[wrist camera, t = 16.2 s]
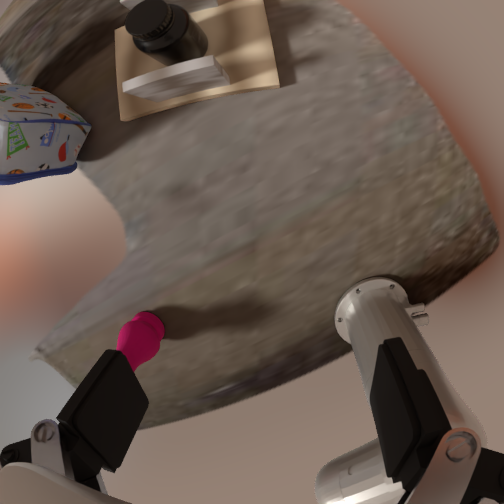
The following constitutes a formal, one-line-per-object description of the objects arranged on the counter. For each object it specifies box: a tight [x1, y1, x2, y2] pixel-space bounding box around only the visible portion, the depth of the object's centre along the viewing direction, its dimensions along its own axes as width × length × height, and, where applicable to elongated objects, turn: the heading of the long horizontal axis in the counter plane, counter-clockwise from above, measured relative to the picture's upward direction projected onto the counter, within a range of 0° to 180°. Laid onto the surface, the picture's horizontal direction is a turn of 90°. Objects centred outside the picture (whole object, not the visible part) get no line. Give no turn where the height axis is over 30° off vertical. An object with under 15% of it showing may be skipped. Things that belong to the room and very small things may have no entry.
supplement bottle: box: [125, 0, 208, 67], centre depth 23 cm, size 7×7×12 cm
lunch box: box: [0, 83, 91, 185], centre depth 25 cm, size 28×10×22 cm, turn 60°
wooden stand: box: [115, 0, 280, 122], centre depth 25 cm, size 22×16×11 cm
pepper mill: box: [116, 312, 165, 372], centre depth 37 cm, size 7×7×20 cm
